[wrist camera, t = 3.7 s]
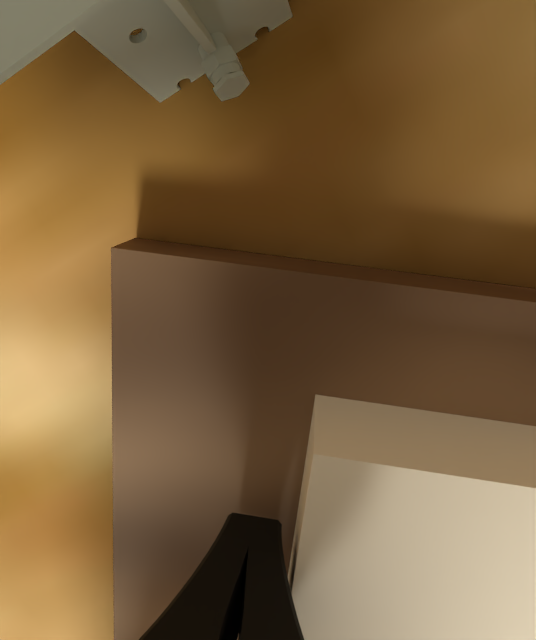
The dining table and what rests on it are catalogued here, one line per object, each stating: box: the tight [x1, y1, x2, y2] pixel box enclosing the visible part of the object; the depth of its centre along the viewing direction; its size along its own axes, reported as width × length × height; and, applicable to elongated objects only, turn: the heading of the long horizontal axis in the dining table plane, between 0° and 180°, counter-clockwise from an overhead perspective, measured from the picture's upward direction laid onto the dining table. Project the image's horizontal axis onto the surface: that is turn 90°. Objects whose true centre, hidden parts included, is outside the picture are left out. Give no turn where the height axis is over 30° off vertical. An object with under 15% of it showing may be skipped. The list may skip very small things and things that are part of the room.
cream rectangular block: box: [288, 394, 536, 640], centre depth 11 cm, size 8×6×2 cm
